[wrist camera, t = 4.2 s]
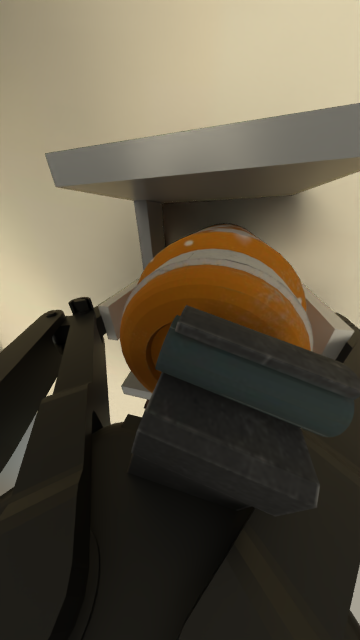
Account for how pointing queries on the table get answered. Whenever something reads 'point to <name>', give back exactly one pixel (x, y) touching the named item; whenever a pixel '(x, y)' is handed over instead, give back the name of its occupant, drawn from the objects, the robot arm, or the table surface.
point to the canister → (230, 374)
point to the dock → (213, 168)
